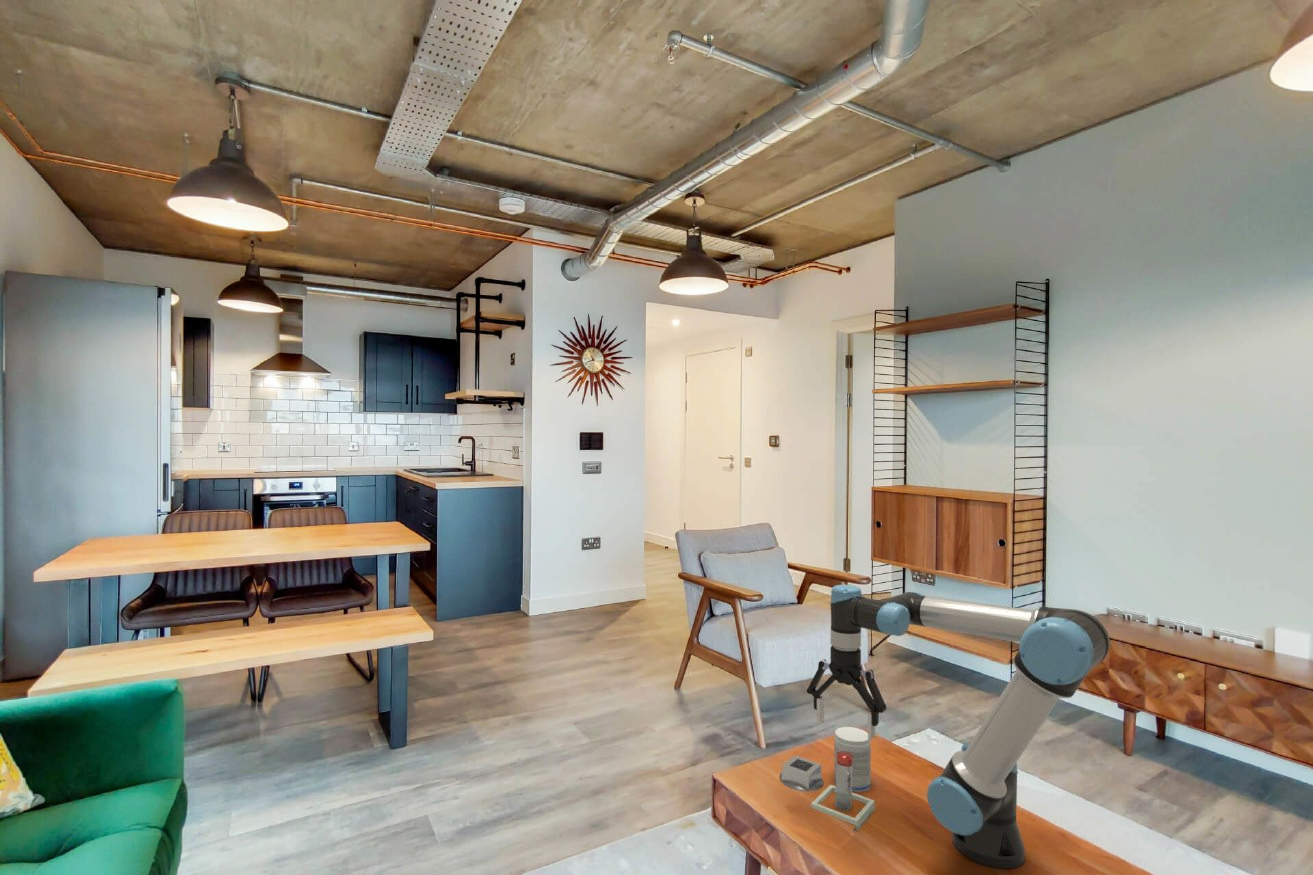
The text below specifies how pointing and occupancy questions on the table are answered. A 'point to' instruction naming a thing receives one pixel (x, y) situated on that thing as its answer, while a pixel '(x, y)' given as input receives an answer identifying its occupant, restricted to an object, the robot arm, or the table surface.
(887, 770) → the table surface
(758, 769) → the table surface
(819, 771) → the grey socket fixture
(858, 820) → the tray
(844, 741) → the supplement tub
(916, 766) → the table surface
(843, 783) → the red capped bottle
